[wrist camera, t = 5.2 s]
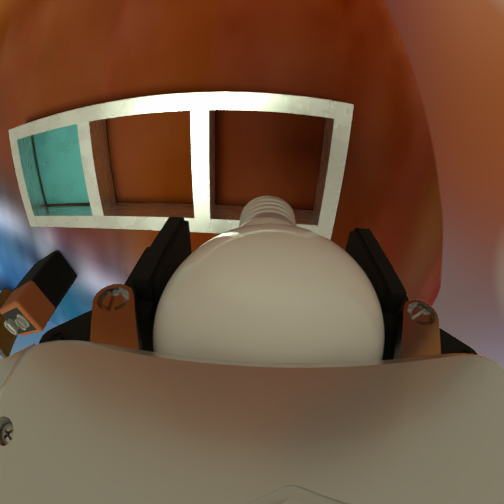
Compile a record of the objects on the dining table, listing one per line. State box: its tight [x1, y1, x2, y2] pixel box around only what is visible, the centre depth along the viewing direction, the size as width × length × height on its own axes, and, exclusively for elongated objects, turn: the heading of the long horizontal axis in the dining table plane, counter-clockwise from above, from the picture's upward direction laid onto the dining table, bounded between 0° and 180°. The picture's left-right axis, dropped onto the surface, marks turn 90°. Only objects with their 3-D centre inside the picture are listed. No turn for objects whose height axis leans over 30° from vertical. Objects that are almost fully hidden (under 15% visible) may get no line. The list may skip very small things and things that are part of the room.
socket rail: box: [9, 91, 354, 240], centre depth 19 cm, size 10×29×2 cm, turn 88°
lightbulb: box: [153, 196, 385, 363], centre depth 9 cm, size 6×6×11 cm
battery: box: [0, 251, 76, 335], centre depth 24 cm, size 4×7×10 cm, turn 113°
